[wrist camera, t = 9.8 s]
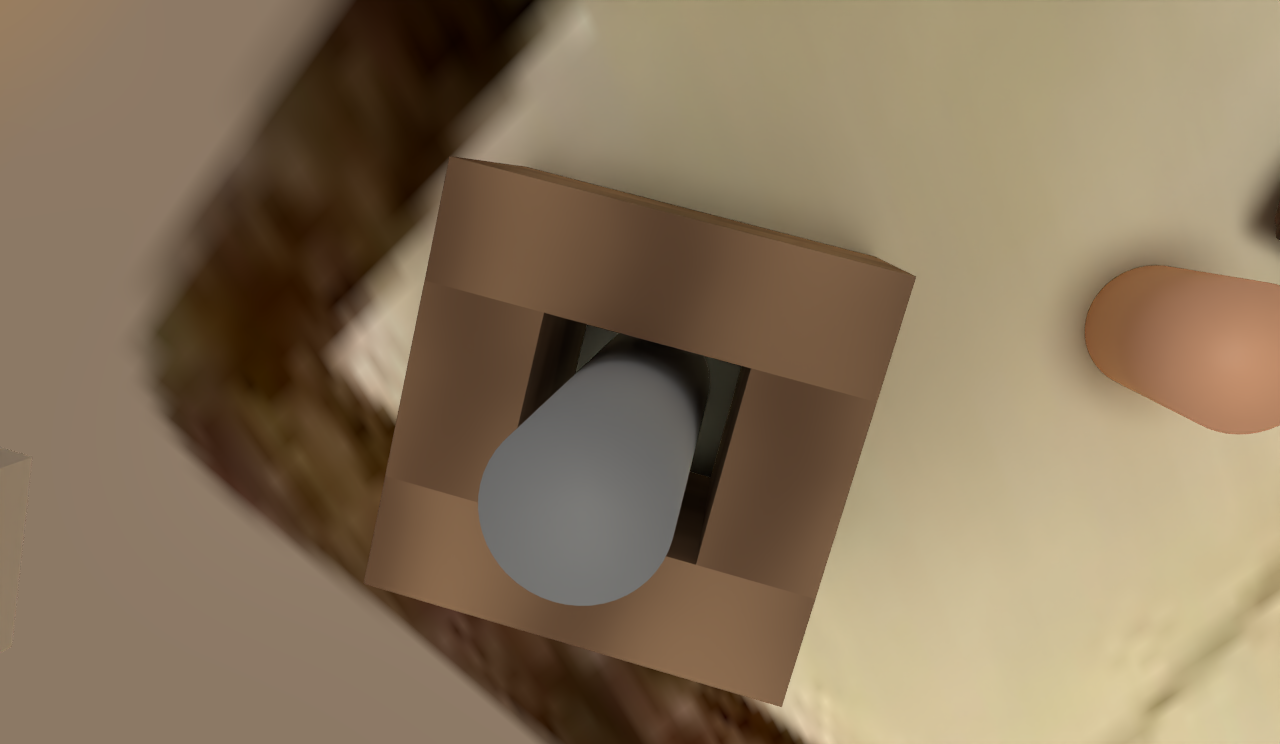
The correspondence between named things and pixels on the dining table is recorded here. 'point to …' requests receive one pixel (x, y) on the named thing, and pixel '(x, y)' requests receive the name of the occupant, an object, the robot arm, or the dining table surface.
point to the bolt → (1278, 222)
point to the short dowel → (1192, 344)
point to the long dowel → (597, 475)
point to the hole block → (662, 313)
